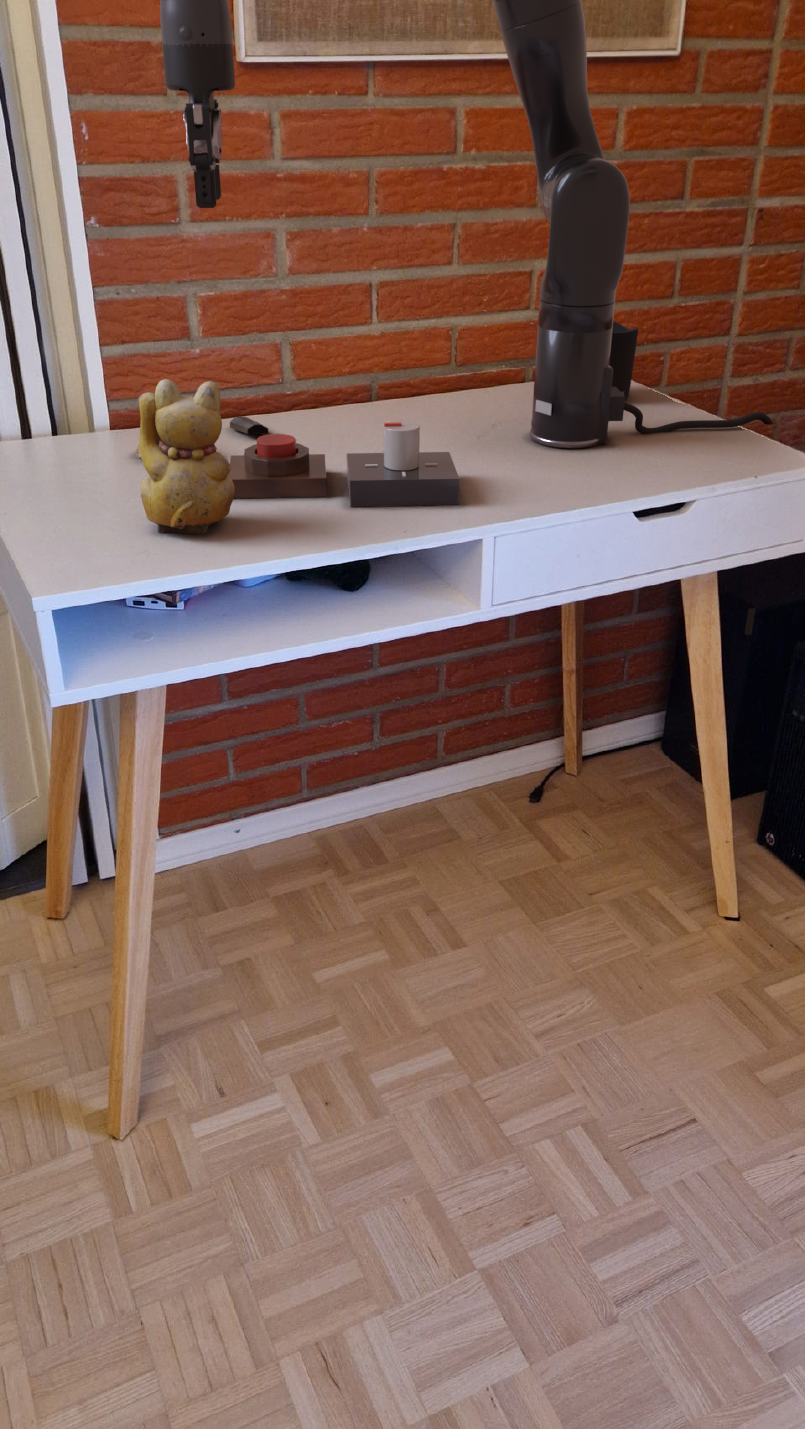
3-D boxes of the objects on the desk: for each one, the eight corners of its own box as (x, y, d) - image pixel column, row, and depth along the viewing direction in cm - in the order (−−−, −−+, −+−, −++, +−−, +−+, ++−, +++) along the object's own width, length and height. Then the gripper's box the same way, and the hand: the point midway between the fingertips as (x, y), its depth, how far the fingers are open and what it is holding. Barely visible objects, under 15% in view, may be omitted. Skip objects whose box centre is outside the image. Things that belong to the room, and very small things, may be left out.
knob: (417, 459, 135) (418, 417, 132) (420, 470, 131) (421, 427, 129) (382, 460, 134) (382, 418, 132) (384, 471, 131) (384, 428, 129)
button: (296, 448, 136) (295, 433, 135) (296, 460, 132) (295, 444, 132) (257, 449, 136) (257, 434, 135) (256, 460, 132) (255, 445, 131)
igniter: (325, 472, 140) (324, 439, 138) (326, 497, 132) (326, 462, 130) (231, 473, 139) (229, 440, 138) (228, 498, 132) (225, 463, 130)
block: (247, 440, 151) (246, 426, 150) (227, 429, 156) (226, 415, 155) (272, 436, 153) (271, 422, 152) (251, 425, 157) (251, 411, 156)
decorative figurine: (236, 513, 128) (228, 372, 120) (236, 540, 121) (227, 392, 113) (146, 515, 127) (131, 374, 119) (140, 543, 119) (124, 395, 112)
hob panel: (448, 476, 139) (449, 450, 138) (458, 505, 130) (459, 477, 129) (346, 478, 138) (346, 452, 137) (350, 507, 130) (349, 479, 128)
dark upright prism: (564, 403, 168) (570, 331, 164) (567, 387, 177) (572, 318, 172) (631, 407, 167) (638, 334, 162) (631, 390, 175) (638, 321, 170)
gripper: (228, 40, 121) (239, 211, 129) (235, 41, 134) (245, 196, 142) (155, 40, 121) (170, 211, 129) (168, 41, 133) (181, 197, 141)
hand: (209, 203), depth 135 cm, fingers open, 8 cm apart
